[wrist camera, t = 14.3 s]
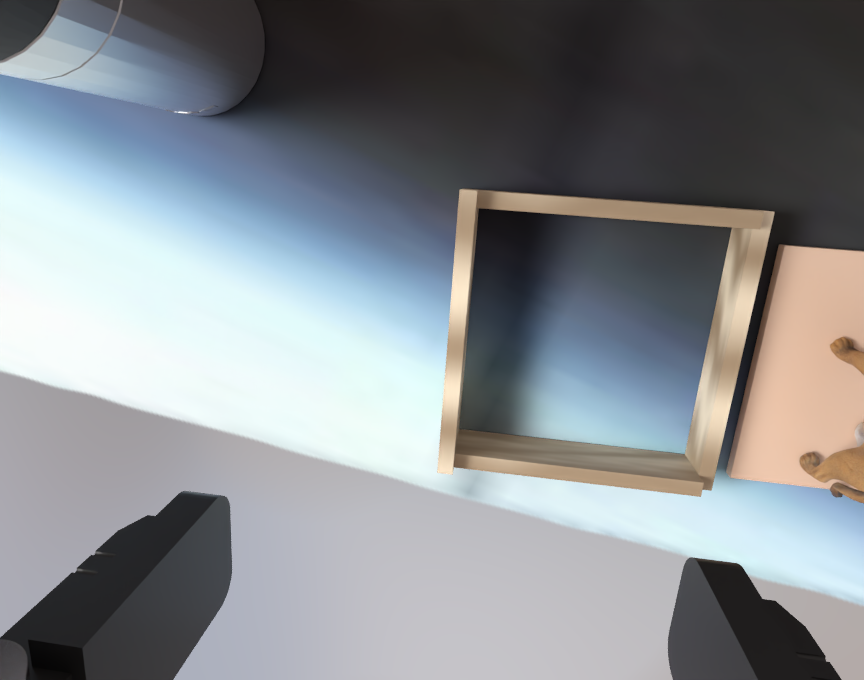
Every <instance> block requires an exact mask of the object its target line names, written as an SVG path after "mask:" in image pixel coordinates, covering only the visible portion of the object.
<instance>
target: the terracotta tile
mask: <svg viewBox="0 0 864 680" xmlns="http://www.w3.org/2000/svg"><path fill="white" fill-rule="evenodd" d="M841 337H844V338H846V339H850V340H851V341H852V342H853V345H854V348H855V349H857V350H859V351H862V352H864V251H859V250H846V249H833V248H820V247H807V246H794V245H781V244H779V246H778V250H777V255H776V259H775V263H774V268H773V272H772V276H771V281H770V285H769V289H768V293H767V298H766V302H765V306H764V311H763V315H762V319H761V324H760V328H759V332H758V336H757V341H756V345H755V349H754V354H753V358H752V362H751V367H750V371H749V375H748V380H747V384H746V388H745V392H744V397H743V401H742V405H741V410H740V414H739V418H738V423H737V427H736V431H735V435H734V440H733V444H732V448H731V453H730V457H729V461H728V466H727V470H726V473H727V474H728V475H729V477H730V478H737V479H746V480H754V481H763V482H772V483H780V484H789V485H798V486H806V487H815V488H824V489H830V488H831V486H832V484H834V483H836V482H839V483H842V484H844V485H846V486H848V487H851V488H854V487H853V486H851V485H849V484H848V483H846V482H844V481H842V480H836V479H832V480H829V481H828V482H826V483H823V482H820V481H818V480H817V479H815V478H813V477H812V476H811V475H809V474H808V473H806V472H805V471H804V470H803V469H802V467H801V466H800V457H801V456H802V455H804V454H806V453H810V452H813V453H815V454H816V455H817V456H818V457H819V458H820V464H821V463H822V462H823V461H824V460H825V459H826V458H828V457H829V456H830V455H832V454H833V453H836V452H839V451H842V450H845V449H851V448H856V447H857V442H856V438H855V429H856V427H857V426H858V425H859V424H860V423H862V422H864V375H863V374H862V373H861V372H860V371H859V370H858V369H857V368H855V367H854V366H853V365H851V364H848V363H846V362H844V361H842V360H840V359H839V358H837V357H836V356H835V355H834V353H833V352H832V351H831V348H830V344H831V343H833V342H834V341H835V340H836V339H839V338H841ZM820 464H819V465H820ZM854 489H856V488H854ZM857 490H858V489H857Z"/></svg>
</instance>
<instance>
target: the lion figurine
mask: <svg viewBox="0 0 864 680" xmlns="http://www.w3.org/2000/svg"><path fill="white" fill-rule="evenodd" d="M830 348H831V351H832V352H833V353H834V355H835V356H836V357H837V358H839V359H840V360H842V361H844V362H846V363H848V364H851V365H853V366H854V367H855V368H857V369H858V370H859V371H860V372H861V373H862V374H863V375H864V352H862V351H859V350H857V349H855V348H854V345H853V342H852V341H851V340H850V339H846V338H844V337H841V338H839V339H836V340H835V341H834V342H833V343H831V344H830ZM855 438H856V442H857V447H856V448H851V449H845V450H842V451H839V452H836V453H833V454H832V455H830V456H829V457H828V458H826V459H825V460H824V461H823V462H822V463H821V464H820V458H819V457H818V456H817V455H816V454H815V453H813V452H810V453H806V454H804V455H802V456H801V457H800V466H801V467H802V469H803V470H804V471H805V472H806V473H808V474H809V475H811V476H812V477H813V478H815V479H817V480H818V481H820V482H823V483H826V482H828V481H829V480H832V479H836V480H842V481H844V482H846V483H848V484H849V485H851V486H853V487H854V488H856V489H854V488H851V487H848V486H846V485H844V484H842V483H839V482H836V483H834V484H832V486H831V488H830V491H831V492H832V495H833V496H834V497H842V494H843V495H845V496H847V497H849V498H851V499H853V500H855V501H858V502H861V503H864V422H862V423H860V424H859V425H858V426H857V427H856V429H855ZM819 464H820V465H819ZM857 489H858V490H857Z"/></svg>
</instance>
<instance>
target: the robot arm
mask: <svg viewBox="0 0 864 680" xmlns="http://www.w3.org/2000/svg"><path fill="white" fill-rule="evenodd" d="M264 52H265V36H264V29H263V24H262V19H261V16H260V13H259V11H258V8H257V6H256V3H255V1H254V0H0V74H3V75H7V76H12V77H16V78H22V79H26V80H31V81H35V82H40V83H45V84H49V85H54V86H59V87H63V88H68V89H72V90H77V91H82V92H86V93H91V94H96V95H100V96H105V97H110V98H114V99H119V100H124V101H128V102H133V103H137V104H142V105H147V106H151V107H156V108H161V109H165V110H167V111H172V112H176V113H182V114H190V115H196V116H209V115H215V114H219V113H222V112H225V111H227V110H229V109H231V108H232V107H234V106H236V105H237V104H239V103H240V102H241V101H242V100H243V99H244V98H245V97H246V96H247V95H248V94H249V92H250V91H251V89H252V88H253V86H254V84H255V83H256V81H257V79H258V76H259V73H260V71H261V68H262V64H263V58H264ZM231 574H232V555H231V524H230V505H229V501H228V499H227V497H225V496H221V495H213V494H205V493H197V492H189V491H183V492H181V493H179V494H178V495H177V496H176V497H175V498H174V499H173V500H172V501H171V502H170V503H169V504H168V505H167V506H166V507H165V508H164V509H163V510H161V511H160V512H159V513H158V514H157V515H156V516H149V515H147V516H145V517H144V518H142V519H140V520H138V521H136V522H134V523H132V524H130V525H128V526H127V527H125V528H122V529H121V530H119V531H117V532H116V533H115V534H114V535H113V536H112V537H111V538H110V539H108V540H107V541H106V542H105V543H104V544H103V545H102V546H101V547H100V548H98V549H97V550H96V553H95V555H91V556H90V557H89V558H88V559H86V560H85V561H84V562H83V563H82V564H81V565H80V566H79V567H78V568H77V571H76V572H75V573H71V574H70V575H69V576H68V577H67V578H65V579H64V580H63V581H62V582H61V583H60V584H59V585H58V586H57V587H56V588H54V589H53V590H52V591H51V592H50V593H49V594H48V595H47V596H46V597H45V598H43V599H42V600H41V601H40V602H39V603H38V604H37V605H36V606H35V607H33V609H31V610H30V611H29V612H28V613H27V614H26V615H25V616H24V617H22V618H21V619H20V620H19V621H18V622H17V623H16V624H15V625H14V626H13V627H12V628H10V629H9V630H8V631H7V632H6V633H5V634H4V635H3V636H2V637H1V638H0V680H173V679H174V677H175V676H176V674H177V673H178V671H179V670H180V668H181V667H182V665H183V664H184V662H185V661H186V659H187V658H188V656H189V655H190V653H191V652H192V650H193V649H194V647H195V646H196V644H197V643H198V641H199V640H200V638H201V636H202V635H203V634H204V632H205V631H206V629H207V627H208V626H209V625H210V623H211V621H212V620H213V619H214V617H215V615H216V614H217V612H218V611H219V609H220V608H221V606H222V604H223V602H224V600H225V598H226V595H227V593H228V589H229V585H230V581H231ZM668 657H669V664H670V670H671V674H672V677H673V680H841V678H840V677H839V675H838V674H837V672H836V671H835V669H834V668H833V666H832V665H831V664H830V662H826V660H825V655H824V653H823V652H822V650H821V649H820V647H819V646H818V645H817V643H816V642H815V640H814V639H813V637H812V636H811V634H810V633H809V631H808V630H807V628H806V627H805V626H804V625H803V624H802V623H800V622H799V621H798V620H797V619H796V618H795V617H793V616H792V615H791V614H790V613H789V612H788V611H786V610H785V609H784V608H783V607H782V606H781V605H779V604H778V603H777V602H776V601H772V600H765V599H762V598H761V596H760V594H759V593H758V591H757V590H756V588H755V587H754V585H753V583H752V582H751V580H750V578H749V577H748V575H747V574H746V572H745V570H744V569H743V568H742V566H740V565H739V564H737V563H730V562H722V561H715V560H707V559H699V558H689V559H688V560H687V561H686V563H685V565H684V568H683V572H682V576H681V581H680V585H679V590H678V594H677V599H676V603H675V608H674V612H673V617H672V622H671V626H670V631H669V637H668Z"/></svg>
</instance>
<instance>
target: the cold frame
mask: <svg viewBox="0 0 864 680" xmlns="http://www.w3.org/2000/svg"><path fill="white" fill-rule="evenodd" d="M479 208H483V209H496V210H509V211H523V212H536V213H549V214H562V215H575V216H589V217H602V218H615V219H628V220H641V221H655V222H668V223H681V224H694V225H707V226H721V227H732V230H731V235H730V240H729V245H728V249H727V254H726V259H725V264H724V269H723V273H722V278H721V283H720V288H719V293H718V297H717V302H716V307H715V312H714V317H713V321H712V326H711V331H710V336H709V341H708V345H707V350H706V355H705V360H704V365H703V369H702V374H701V379H700V384H699V389H698V393H697V398H696V403H695V408H694V412H693V417H692V422H691V427H690V432H689V436H688V441H687V446H686V451H685V454H677V453H668V452H659V451H651V450H642V449H633V448H624V447H615V446H606V445H597V444H588V443H580V442H571V441H562V440H553V439H544V438H535V437H526V436H517V435H509V434H500V433H491V432H482V431H473V430H464V429H459V426H460V415H461V404H462V393H463V381H464V370H465V359H466V347H467V336H468V325H469V314H470V302H471V291H472V280H473V268H474V257H475V246H476V235H477V223H478V212H479ZM774 213H775V212H772V211H763V210H753V209H740V208H726V207H712V206H699V205H685V204H671V203H657V202H644V201H630V200H616V199H602V198H588V197H575V196H561V195H547V194H533V193H520V192H506V191H492V190H478V189H460V193H459V205H458V218H457V231H456V243H455V256H454V269H453V281H452V294H451V307H450V319H449V332H448V344H447V357H446V370H445V382H444V395H443V408H442V420H441V433H440V446H439V458H438V471H437V473H444V474H452V475H453V469H454V467H456V468H464V469H473V470H481V471H490V472H498V473H506V474H515V475H523V476H531V477H540V478H548V479H557V480H565V481H573V482H582V483H590V484H599V485H607V486H615V487H624V488H632V489H641V490H649V491H657V492H666V493H674V494H683V495H691V496H699V497H701V493H702V490H712V486H713V482H714V477H715V473H716V468H717V464H718V460H719V455H720V451H721V446H722V442H723V437H724V433H725V429H726V424H727V420H728V415H729V411H730V407H731V402H732V398H733V393H734V389H735V385H736V380H737V376H738V371H739V367H740V363H741V358H742V354H743V349H744V345H745V341H746V336H747V332H748V327H749V323H750V319H751V314H752V310H753V305H754V301H755V297H756V292H757V288H758V283H759V279H760V274H761V270H762V266H763V261H764V257H765V252H766V248H767V244H768V239H769V235H770V230H771V226H772V222H773V217H774Z"/></svg>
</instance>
